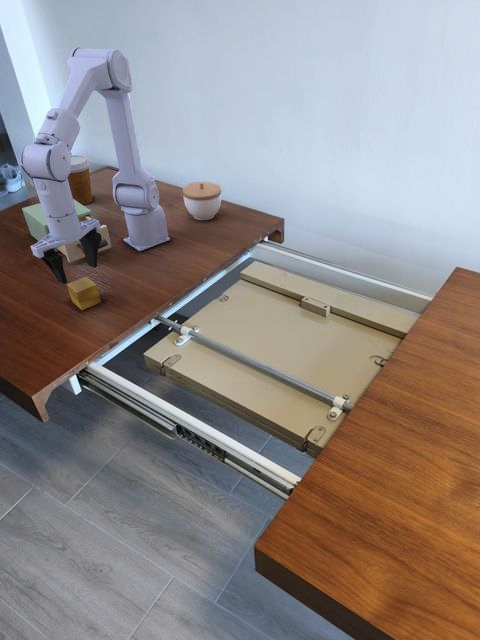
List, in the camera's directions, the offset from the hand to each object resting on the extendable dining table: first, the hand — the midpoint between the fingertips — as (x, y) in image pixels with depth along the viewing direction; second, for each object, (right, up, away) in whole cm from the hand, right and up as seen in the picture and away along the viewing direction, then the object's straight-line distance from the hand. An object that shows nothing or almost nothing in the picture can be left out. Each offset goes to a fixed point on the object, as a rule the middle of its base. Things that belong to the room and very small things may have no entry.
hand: (78, 273), depth 97 cm
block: (0, -5, +5) cm, 7 cm away
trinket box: (+21, +23, +37) cm, 49 cm away
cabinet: (-14, +14, +27) cm, 34 cm away
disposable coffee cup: (-16, +29, +45) cm, 56 cm away
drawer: (-7, +10, +21) cm, 24 cm away
